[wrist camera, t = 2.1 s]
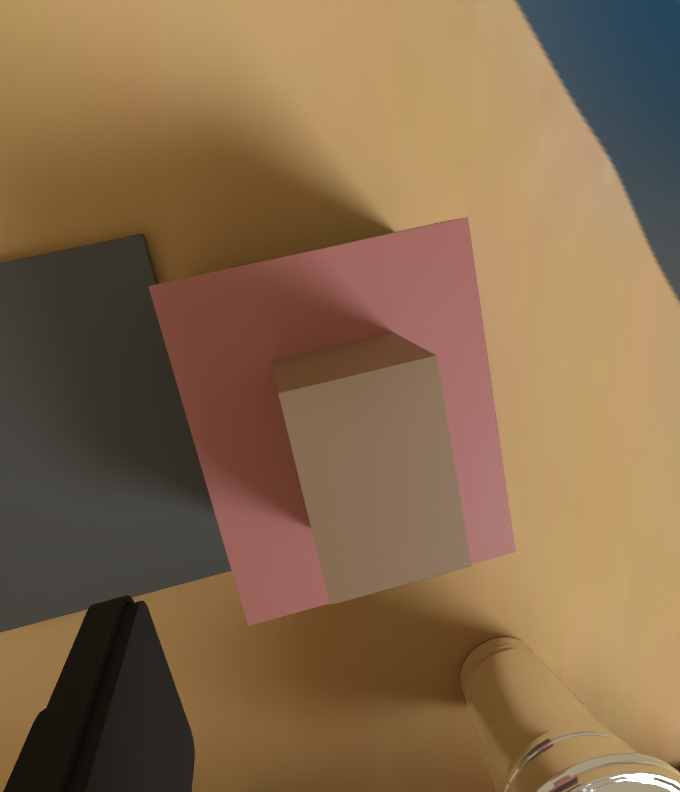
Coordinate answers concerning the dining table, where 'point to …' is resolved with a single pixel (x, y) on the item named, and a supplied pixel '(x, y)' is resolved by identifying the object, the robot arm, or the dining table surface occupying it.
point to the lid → (342, 416)
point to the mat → (93, 439)
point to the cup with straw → (547, 730)
